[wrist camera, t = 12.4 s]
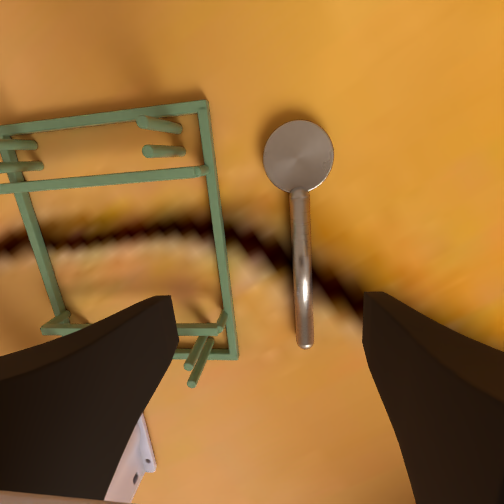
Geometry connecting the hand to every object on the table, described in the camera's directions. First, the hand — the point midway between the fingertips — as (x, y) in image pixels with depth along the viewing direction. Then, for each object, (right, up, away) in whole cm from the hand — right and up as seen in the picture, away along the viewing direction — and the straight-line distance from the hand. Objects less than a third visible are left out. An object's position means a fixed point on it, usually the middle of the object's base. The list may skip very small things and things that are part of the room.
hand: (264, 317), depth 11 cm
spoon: (+3, +3, +8) cm, 9 cm away
